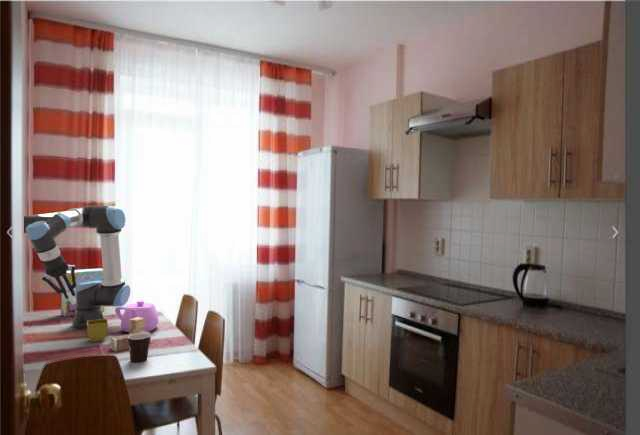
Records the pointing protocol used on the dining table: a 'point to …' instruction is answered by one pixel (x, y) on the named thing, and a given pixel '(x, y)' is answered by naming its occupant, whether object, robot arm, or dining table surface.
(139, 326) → the oak block
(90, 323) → the flower pot
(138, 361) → the coffee mug
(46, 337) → the dining table surface
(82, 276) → the snack box
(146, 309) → the teapot
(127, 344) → the walnut block
